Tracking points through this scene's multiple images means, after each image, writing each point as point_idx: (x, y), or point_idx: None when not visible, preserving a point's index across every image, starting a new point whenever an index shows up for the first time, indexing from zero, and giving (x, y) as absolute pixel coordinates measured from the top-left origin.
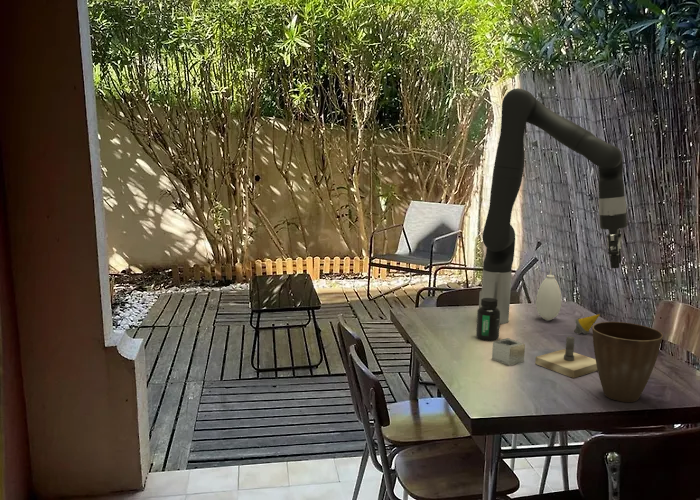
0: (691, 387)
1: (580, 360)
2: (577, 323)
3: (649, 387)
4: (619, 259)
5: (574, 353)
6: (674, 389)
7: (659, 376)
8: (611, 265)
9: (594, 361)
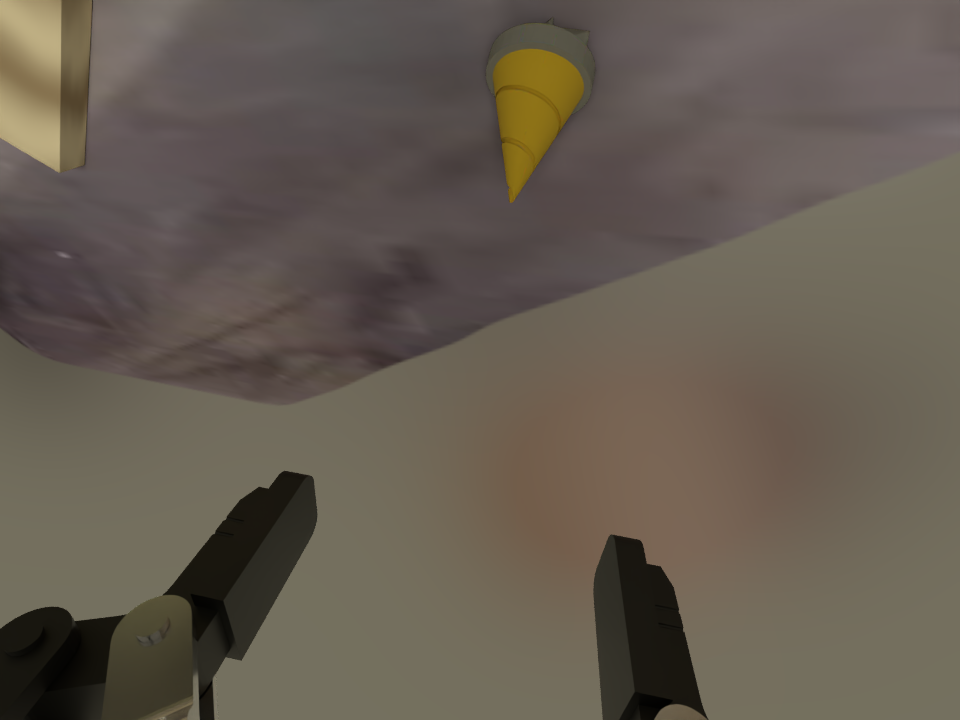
0: (154, 377)
1: None
2: (498, 42)
3: (63, 289)
4: (600, 613)
5: (48, 44)
6: (106, 341)
7: (171, 325)
8: (268, 491)
9: (33, 140)
